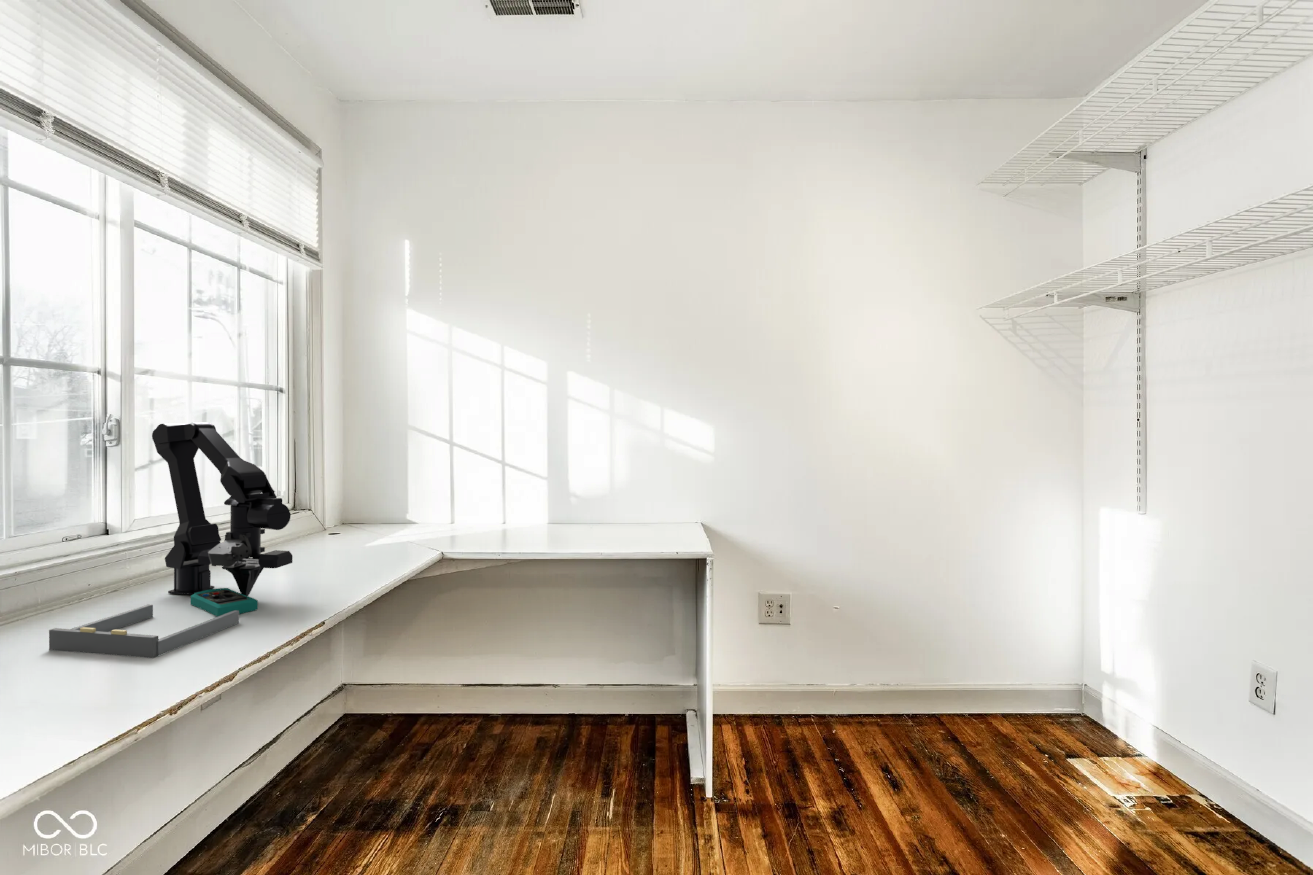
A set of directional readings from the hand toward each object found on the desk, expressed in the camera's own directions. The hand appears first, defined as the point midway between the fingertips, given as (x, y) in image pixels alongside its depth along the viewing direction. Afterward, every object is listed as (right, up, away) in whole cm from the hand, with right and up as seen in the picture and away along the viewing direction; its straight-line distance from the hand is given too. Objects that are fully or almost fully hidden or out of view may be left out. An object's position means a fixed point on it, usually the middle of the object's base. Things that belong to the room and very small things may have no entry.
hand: (245, 596), depth 147 cm
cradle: (-3, -2, -23) cm, 24 cm away
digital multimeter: (-1, -2, -5) cm, 6 cm away
